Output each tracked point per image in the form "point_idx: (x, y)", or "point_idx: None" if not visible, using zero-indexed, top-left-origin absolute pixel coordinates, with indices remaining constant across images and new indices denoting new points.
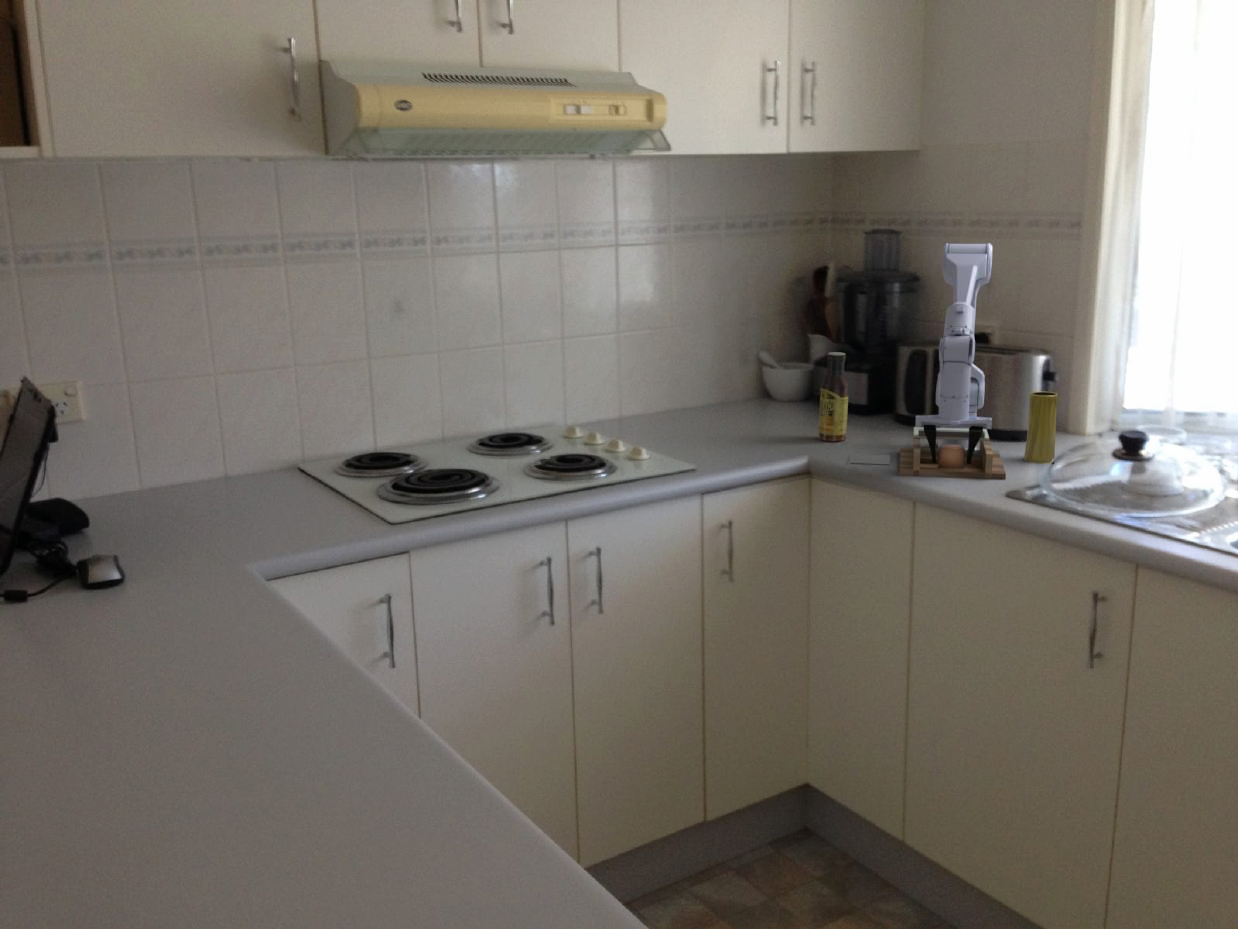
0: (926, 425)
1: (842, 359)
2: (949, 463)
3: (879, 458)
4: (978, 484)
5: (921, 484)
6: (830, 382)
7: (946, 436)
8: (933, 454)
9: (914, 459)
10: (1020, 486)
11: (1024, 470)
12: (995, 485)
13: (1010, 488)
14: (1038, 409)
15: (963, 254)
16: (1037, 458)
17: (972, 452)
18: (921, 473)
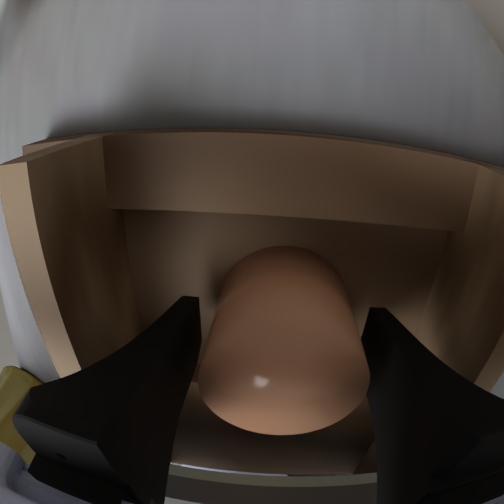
0: (496, 491)
1: None
2: (304, 270)
3: (493, 388)
4: (158, 42)
5: (456, 28)
6: None
7: (293, 488)
8: (401, 330)
9: None
10: (5, 74)
11: (25, 316)
12: (83, 50)
13: (37, 25)
14: None
15: None
16: (17, 382)
17: (149, 328)
18: (461, 158)
